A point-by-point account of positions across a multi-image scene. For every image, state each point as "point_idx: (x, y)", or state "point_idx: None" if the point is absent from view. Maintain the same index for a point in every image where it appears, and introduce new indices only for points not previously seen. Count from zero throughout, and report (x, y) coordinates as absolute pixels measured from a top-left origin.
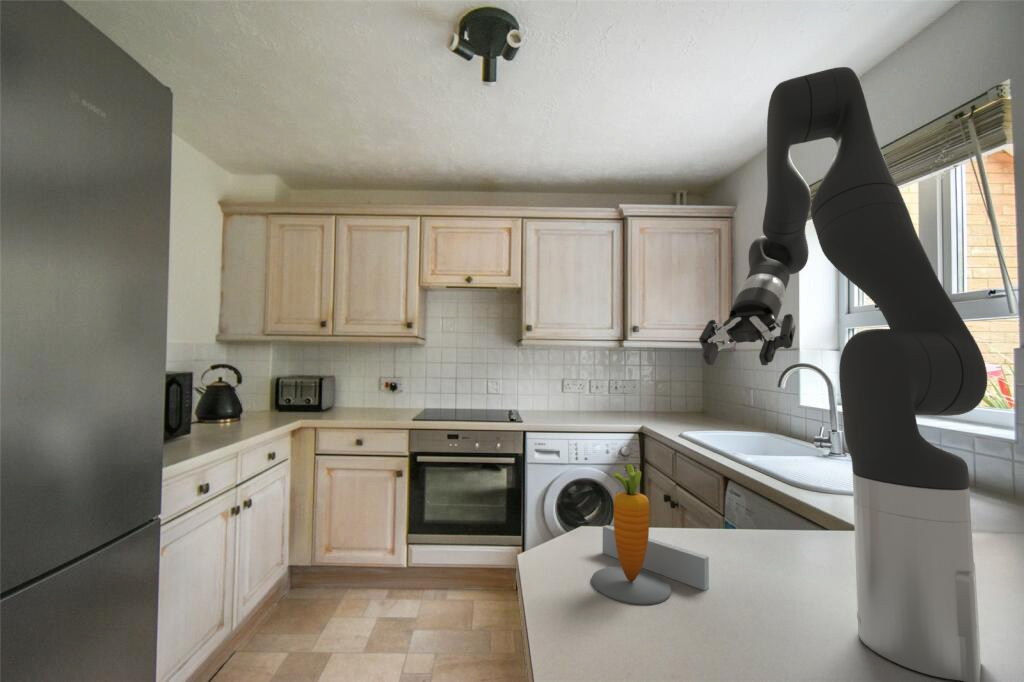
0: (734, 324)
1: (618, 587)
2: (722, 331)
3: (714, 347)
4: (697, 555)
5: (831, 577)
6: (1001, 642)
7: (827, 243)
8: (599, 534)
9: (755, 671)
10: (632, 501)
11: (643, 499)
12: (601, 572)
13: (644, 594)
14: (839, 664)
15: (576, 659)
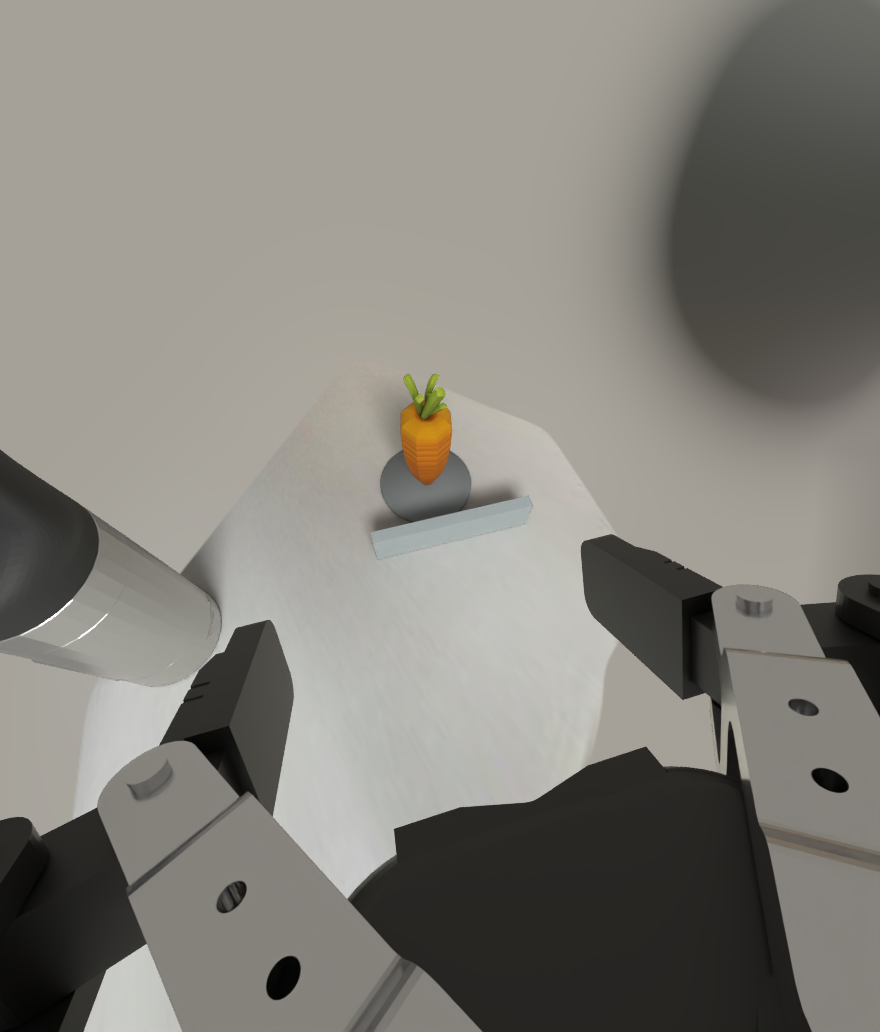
0: (779, 837)
1: None
2: (757, 659)
3: (656, 604)
4: (382, 532)
5: (300, 785)
6: (91, 775)
7: None
8: None
9: (263, 471)
10: (408, 406)
11: (404, 418)
12: (461, 470)
13: (396, 476)
14: (220, 540)
15: (351, 378)
